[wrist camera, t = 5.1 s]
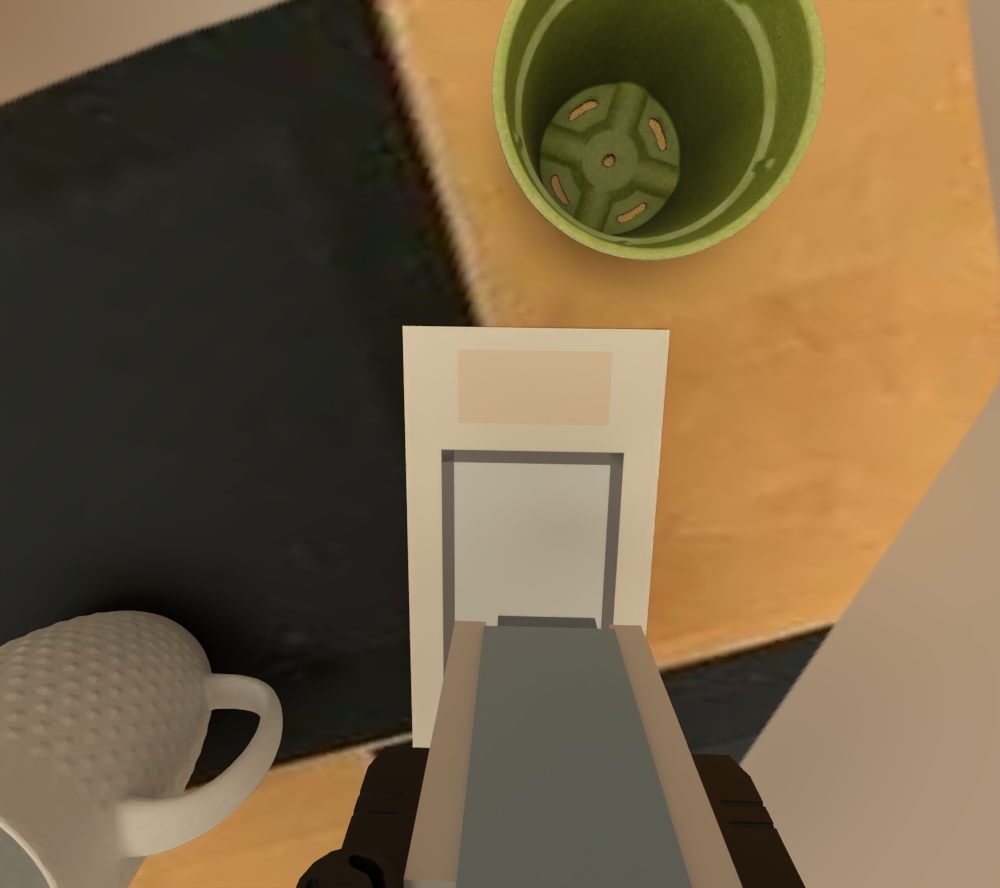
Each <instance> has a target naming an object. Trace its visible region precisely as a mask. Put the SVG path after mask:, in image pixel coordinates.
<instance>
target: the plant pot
mask: <svg viewBox="0 0 1000 888" xmlns="http://www.w3.org/2000/svg"><path fill="white" fill-rule="evenodd" d="M824 83H825V48H824V40H823V33H822V27H821V23H820V19H819V16H818V13H817V10H816V7H815V3H814V0H512V1H511V3H510V6H509V8H508V10H507V13H506V16H505V19H504V22H503V25H502V28H501V32H500V35H499V39H498V43H497V48H496V53H495V59H494V65H493V76H492V98H493V109H494V117H495V123H496V128H497V132H498V136H499V140H500V143H501V147H502V150H503V153H504V156H505V158H506V161H507V163H508V166H509V168H510V170H511V172H512V174H513V176H514V178H515V180H516V182H517V184H518V185H519V187H520V188H521V190H522V191H523V193H524V194H525V196H526V197H527V198H528V200H529V201H530V202H531V204H532V205H533V206H534V207H535V208H536V209H537V211H538V212H539V213H540V214H541V215H542V216H543V217H544V218H546V219H547V220H548V221H549V222H550V223H551V224H552V225H553V226H555V227H556V228H557V229H558V230H560V231H561V232H562V233H564V234H565V235H567V236H568V237H570V238H571V239H573V240H575V241H577V242H579V243H580V244H582V245H584V246H587V247H589V248H591V249H593V250H596V251H598V252H601V253H604V254H607V255H611V256H615V257H620V258H626V259H634V260H663V259H671V258H677V257H682V256H686V255H689V254H693V253H696V252H699V251H702V250H704V249H707V248H709V247H712V246H714V245H716V244H718V243H720V242H722V241H724V240H726V239H728V238H729V237H731V236H733V235H734V234H736V233H737V232H739V231H740V230H742V229H743V228H745V227H746V226H747V225H749V224H750V223H751V222H752V221H754V220H755V219H756V218H757V217H758V216H759V215H760V214H761V213H763V212H764V211H765V210H766V209H767V208H768V207H769V206H770V205H771V204H772V203H773V201H774V200H775V199H776V198H777V197H778V196H779V195H780V193H781V192H782V191H783V190H784V188H785V187H786V186H787V185H788V183H789V182H790V180H791V178H792V177H793V175H794V173H795V171H796V170H797V168H798V166H799V165H800V163H801V161H802V159H803V157H804V155H805V153H806V151H807V149H808V147H809V145H810V142H811V139H812V137H813V134H814V132H815V129H816V125H817V121H818V117H819V113H820V109H821V104H822V100H823V94H824ZM589 100H596V101H597V102H598V106H597V107H594V108H592V109H590V110H588V111H585V112H583V113H582V114H581V115H578V116H577V117H576V118H575V119H574V120H572V121H570V120H569V117H570V113H571V112H572V111H573V110H574V109H575V108H577V107H578V106H580V105H581V104H583V103H584V102H586V101H589ZM650 118H653V119H655V120H657V121H658V122H659V124H660V125H661V127H662V129H663V132H664V134H665V137H666V148H665V150H661V149H659V146H658V143H657V138H656V136H655V133H654V131H653V129H652V128H651V127H650V125H649V119H650ZM608 154H613V155H614V157H615V164H614V165H612V166H610V167H607V166H605V165H604V164H603V159H604V157H605V156H606V155H608ZM555 174H556V175H557V176H558V177H559V181H560V184H561V187H562V189H563V191H564V194H565V195H566V197H567V199H568V200H569V205H567V204H564V203H562V202H561V200H560V199H559V198H558V197H557V195H556V193H555V191H554V189H553V187H552V184H551V178H552V176H553V175H555ZM641 203H646V204H647V205H646V209H645V210H644V211H643V212H641V213H639V214H637V215H636V216H635V217H634V218H633V219H632V220H630V221H626V222H622V223H620V222H619V221H618V220H617V218H618V216H619V215H623V214H625V213H627V212H629V211H631V210H633V209H634V208H636V207H638V206H639V205H640V204H641Z"/></svg>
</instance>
